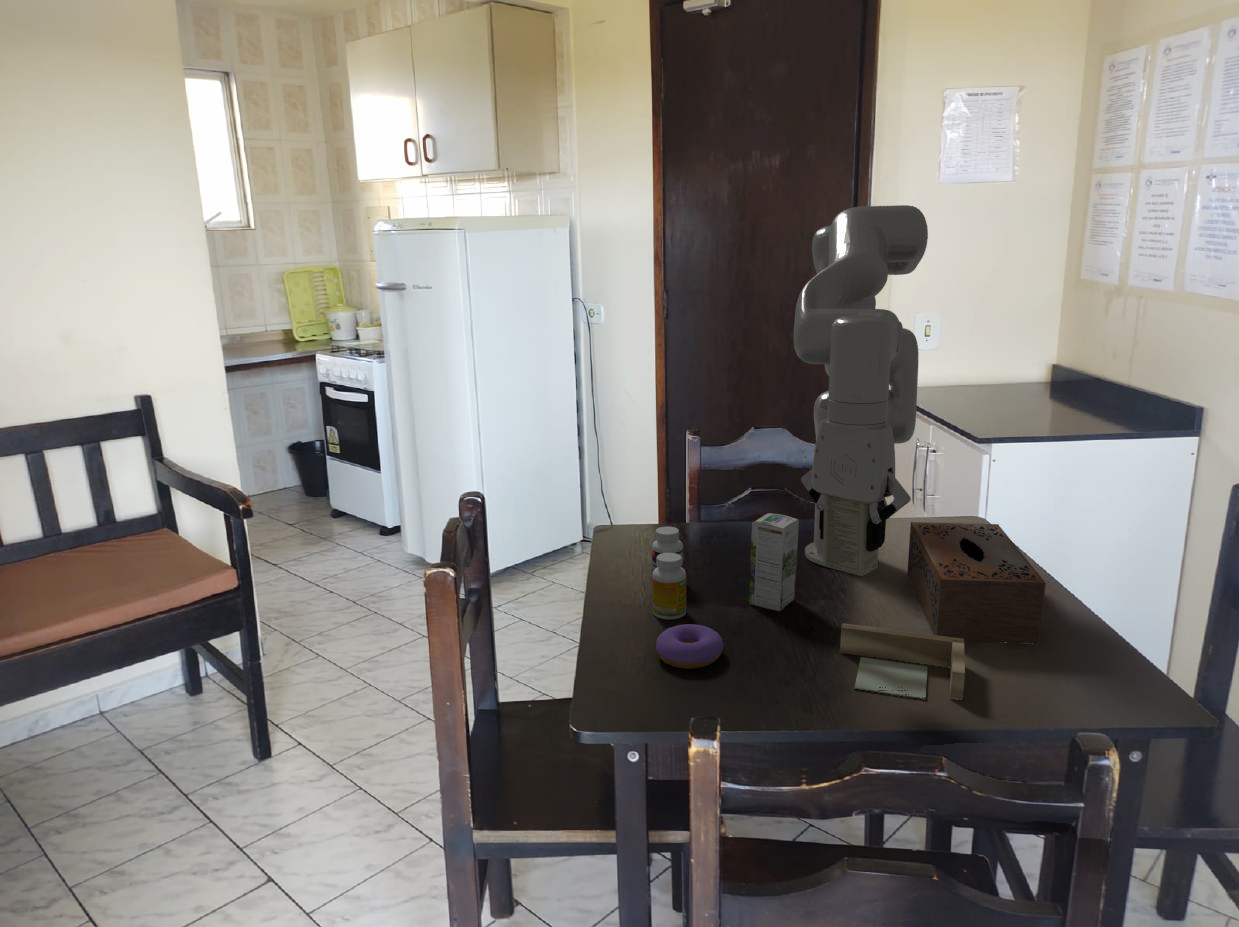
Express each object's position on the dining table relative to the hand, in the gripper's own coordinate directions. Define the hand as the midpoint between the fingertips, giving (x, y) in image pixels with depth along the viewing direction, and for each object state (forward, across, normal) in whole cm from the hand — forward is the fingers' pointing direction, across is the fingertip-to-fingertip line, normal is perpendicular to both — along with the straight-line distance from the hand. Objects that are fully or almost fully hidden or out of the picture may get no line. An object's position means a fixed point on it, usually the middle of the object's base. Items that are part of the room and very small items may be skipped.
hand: (850, 541), depth 118 cm
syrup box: (+19, -20, +11) cm, 30 cm away
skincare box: (+4, 0, 0) cm, 4 cm away
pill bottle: (+19, -39, +6) cm, 43 cm away
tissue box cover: (+19, +4, +31) cm, 37 cm away
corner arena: (+19, +7, +3) cm, 20 cm away
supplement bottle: (+19, -30, -3) cm, 36 cm away
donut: (+19, -18, -12) cm, 29 cm away
